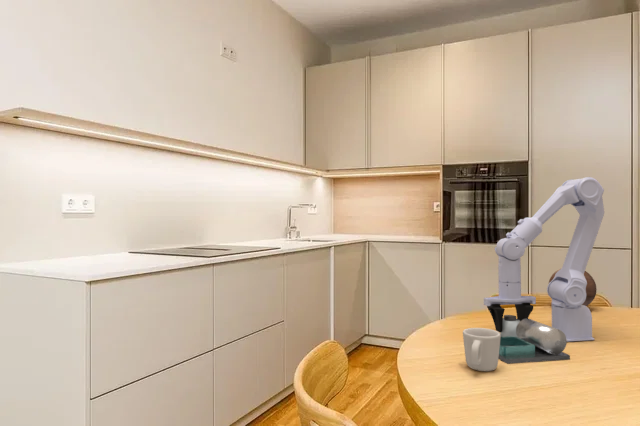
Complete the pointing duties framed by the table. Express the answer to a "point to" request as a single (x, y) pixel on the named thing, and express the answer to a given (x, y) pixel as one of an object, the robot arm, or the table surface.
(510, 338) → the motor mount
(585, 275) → the wooden sphere
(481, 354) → the cup
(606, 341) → the table surface
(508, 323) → the grey capped cylinder
